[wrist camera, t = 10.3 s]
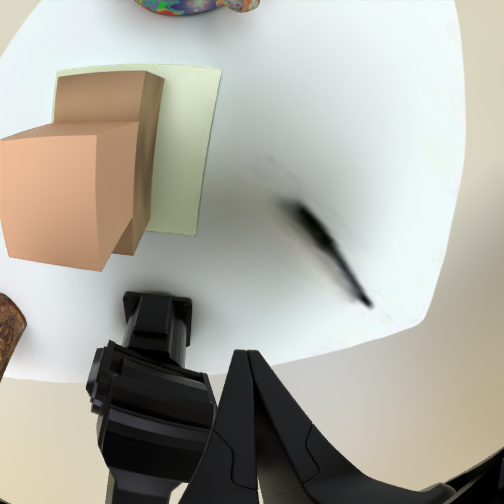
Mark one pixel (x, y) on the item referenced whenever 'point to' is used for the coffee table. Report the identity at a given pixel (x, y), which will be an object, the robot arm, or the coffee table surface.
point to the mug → (195, 5)
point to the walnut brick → (119, 109)
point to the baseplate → (175, 140)
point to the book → (9, 330)
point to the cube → (67, 191)
